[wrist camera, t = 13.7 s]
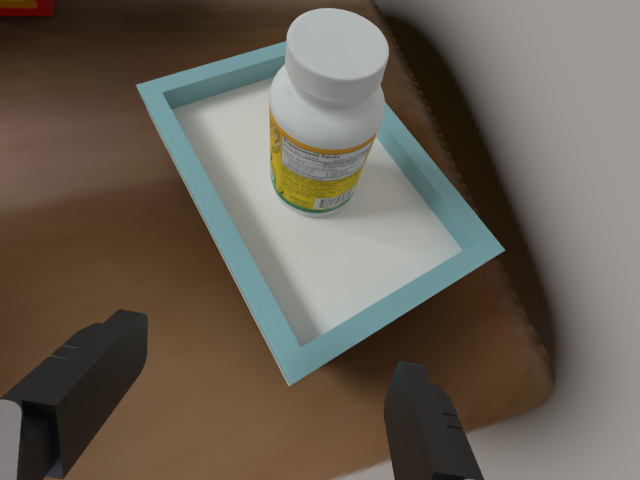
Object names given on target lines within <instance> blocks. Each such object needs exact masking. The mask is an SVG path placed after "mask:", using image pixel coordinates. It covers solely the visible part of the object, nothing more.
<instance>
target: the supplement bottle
mask: <svg viewBox="0 0 640 480" xmlns="http://www.w3.org/2000/svg"><path fill="white" fill-rule="evenodd" d="M388 57H389V47H388V43H387V40H386V38H385V37H384V35H383V34H382V32H381V31H380V30H379V29H378V28H377V27H376V26H375V25H374V24H372V23H371V22H370V21H368V20H367V19H365V18H364V17H361V16H360V15H357V14H355V13H352V12H349V11H345V10H339V9H331V8H323V9H316V10H312V11H309V12H306V13H304V14H302V15H300V16H299V17H298V18H296V19H295V20H294V21H293V23H292V24H291V26H290V28H289V30H288V33H287V41H286V55H285V65H283V67H282V68H281V69H280V70H279V71H278V73H277V74H276V76H275V77H274V79H273V82H272V85H271V88H270V97H269V117H270V173H271V182H272V186H273V189H274V192H275V194H276V196H277V197H278V199H279V200H280V202H281V203H282V204H283V205H284V206H286V207H287V208H289V209H290V210H292V211H294V212H296V213H298V214H302V215H305V216H310V217H319V216H326V215H330V214H333V213H335V212H337V211H339V210H340V209H342V208H343V207H344V206H345V205H346V204H347V203H348V202H349V200H350V199H351V197H352V195H353V193H354V191H355V188H356V185H357V183H358V180H359V178H360V175H361V173H362V170H363V168H364V165H365V163H366V160H367V158H368V155H369V153H370V150H371V148H372V145H373V143H374V140H375V138H376V136H377V133H378V131H379V128H380V126H381V123H382V120H383V117H384V112H385V99H384V94H383V91H382V88H381V86H380V84H381V82H382V78H383V74H384V70H385V67H386V64H387V61H388Z"/></svg>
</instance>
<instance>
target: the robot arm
mask: <svg viewBox="0 0 640 480" xmlns="http://www.w3.org/2000/svg"><path fill="white" fill-rule="evenodd" d="M147 331H148V318H147V315H146V314H144V313H138V312H133V311H127V310H122V309H120V310H118V311H116V312H115V313H114V314H113V315H112V316H111V317H110V318H109V319H108V320H107V321H106V322H104V323H103V324H102V323H94V324H92V325H90V326H88V327H86V328H84V329H82V330H80V331H78V332H76V333H75V334H74V335H73V336H72V337H71V338H70V339H68V340H67V341H66V342H65V343H64V344H63V346H62V347H59V348H58V349H57V350H56V351H55V352H53V353H52V354H51V357H48V358H46V359H45V360H44V361H43V362H42V363H41V364H39V365H38V366H37V367H36V368H35V369H34V370H33V371H31V372H30V373H29V374H28V375H27V376H26V377H24V378H23V379H22V380H21V381H20V382H19V383H18V384H16V385H15V386H14V387H13V388H12V389H11V390H9V391H8V392H7V393H6V394H5V395H4V396H2V397H1V398H0V480H43V478H44V477H45V476H47V477H53V478H59V479H64V477H65V476H66V475H67V473H68V472H69V471H70V469H71V468H72V466H73V465H74V464H75V462H76V461H77V460H78V458H79V457H80V455H81V454H82V453H83V451H84V450H85V449H86V447H87V446H88V445H89V443H90V442H91V440H92V439H93V438H94V436H95V435H96V434H97V432H98V431H99V429H100V428H101V427H102V425H103V424H104V423H105V421H106V420H107V419H108V417H109V416H110V414H111V413H112V412H113V410H114V409H115V408H116V406H117V405H118V403H119V402H120V401H121V399H122V398H123V397H124V395H125V394H126V393H127V391H128V390H129V388H130V387H131V386H132V384H133V383H134V382H135V380H136V379H137V377H138V376H139V375H140V373H141V371H142V369H143V367H144V364H145V361H146V357H147ZM384 420H385V425H386V431H387V437H388V443H389V449H390V454H391V460H392V466H393V472H394V478H395V480H484V478H483V476H482V474H481V471H480V469H479V466H478V464H477V461H476V459H475V457H474V454H473V452H472V449H471V447H470V445H469V442H468V440H467V437H466V435H465V432H464V431H463V430H462V429H463V428H462V425H461V423H460V420H459V418H457V413H456V411H455V408H454V406H453V404H452V401H451V399H450V398H449V397H448V396H447V394H446V393H445V392H444V391H443V390H442V388H441V387H440V386H439V385H434V384H431V382H430V379H429V377H428V374H427V371H426V369H425V367H424V366H423V365H419V364H413V363H408V362H402V361H400V362H398V364H397V366H396V369H395V372H394V375H393V378H392V381H391V383H390V386H389V389H388V392H387V395H386V398H385V404H384Z"/></svg>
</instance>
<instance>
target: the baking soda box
mask: <svg viewBox="0 0 640 480" xmlns="http://www.w3.org/2000/svg"><path fill="white" fill-rule="evenodd" d="M55 1H56V0H0V16H53V11H54V6H55Z"/></svg>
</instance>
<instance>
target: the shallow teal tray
mask: <svg viewBox="0 0 640 480" xmlns="http://www.w3.org/2000/svg"><path fill="white" fill-rule="evenodd" d="M285 55H286V41H285V42H282V43H279V44H275V45H272V46H268V47H265V48H261V49H258V50H254V51H251V52H247V53H244V54H241V55H237V56H234V57H230V58H227V59H223V60H220V61H216V62H213V63H210V64H206V65H203V66H199V67H196V68H192V69H189V70H185V71H182V72H179V73H175V74H172V75H168V76H165V77H161V78H158V79H154V80H151V81H148V82H144V83H141V84H137V85H136V86H137V89H138V91H139V93H140V95H141V97H142V99H143V102H144V104H145V106H146V108H147V110H148V112H149V115H150V117H151V119H152V121H153V123H154V125H155V127H156V129H157V131H158V133H159V135H160V137H161V139H162V141H163V142H164V144H165V146H166V148H167V150H168V152H169V154H170V156H171V158H172V160H173V162H174V164H175V166H176V168H177V170H178V172H179V174H180V176H181V177H182V179H183V181H184V183H185V185H186V187H187V189H188V191H189V193H190V195H191V197H192V199H193V201H194V203H195V205H196V207H197V209H198V211H199V212H200V214H201V216H202V218H203V220H204V222H205V224H206V226H207V228H208V230H209V232H210V234H211V236H212V238H213V240H214V242H215V244H216V246H217V248H218V249H219V251H220V253H221V255H222V257H223V259H224V261H225V263H226V265H227V267H228V269H229V271H230V273H231V275H232V277H233V279H234V281H235V283H236V284H237V286H238V288H239V290H240V292H241V294H242V296H243V298H244V300H245V302H246V304H247V306H248V308H249V310H250V312H251V314H252V316H253V318H254V320H255V321H256V323H257V325H258V327H259V329H260V331H261V333H262V335H263V337H264V339H265V341H266V343H267V345H268V347H269V349H270V351H271V353H272V355H273V356H274V358H275V360H276V362H277V364H278V366H279V368H280V370H281V372H282V374H283V376H284V378H285V380H286V382H287V384H288V386H290V385H292V384H294V383H295V382H297V381H298V380H300V379H302V378H303V377H305V376H306V375H308V374H309V373H311V372H313V371H314V370H316V369H317V368H319V367H321V366H322V365H324V364H325V363H327V362H329V361H330V360H332V359H333V358H335V357H336V356H338V355H340V354H341V353H343V352H344V351H346V350H348V349H349V348H351V347H352V346H354V345H356V344H357V343H359V342H360V341H362V340H363V339H365V338H367V337H368V336H370V335H371V334H373V333H375V332H376V331H378V330H379V329H381V328H383V327H384V326H386V325H387V324H389V323H390V322H392V321H394V320H395V319H397V318H398V317H400V316H402V315H403V314H405V313H406V312H408V311H410V310H411V309H413V308H414V307H416V306H417V305H419V304H421V303H422V302H424V301H425V300H427V299H429V298H430V297H432V296H433V295H435V294H437V293H438V292H440V291H441V290H443V289H444V288H446V287H448V286H449V285H451V284H452V283H454V282H456V281H457V280H459V279H460V278H462V277H464V276H465V275H467V274H468V273H470V272H471V271H473V270H475V269H476V268H478V267H479V266H481V265H483V264H484V263H486V262H487V261H489V260H491V259H492V258H494V257H495V256H497V255H498V254H500V253H502V252H503V251H505V249H504V248H503V247H502V246H501V244H500V243H499V242H498V241H497V240H496V238H495V237H494V236H493V235H492V233H491V232H490V231H489V230H488V228H487V227H486V226H485V225H484V223H483V222H482V221H481V220H480V218H479V217H478V216H477V215H476V214H475V212H474V211H473V210H472V209H471V207H470V206H469V205H468V204H467V202H466V201H465V200H464V199H463V197H462V196H461V195H460V194H459V193H458V191H457V190H456V189H455V188H454V186H453V185H452V184H451V183H450V181H449V180H448V179H447V178H446V176H445V175H444V174H443V173H442V172H441V170H440V169H439V168H438V167H437V165H436V164H435V163H434V162H433V160H432V159H431V158H430V157H429V155H428V154H427V153H426V152H425V151H424V149H423V148H422V147H421V146H420V144H419V143H418V142H417V141H416V139H415V138H414V137H413V136H412V134H411V133H410V132H409V131H408V130H407V128H406V127H405V126H404V125H403V123H402V122H401V121H400V120H399V118H398V117H397V116H396V115H395V113H394V112H393V111H392V110H391V109H390V107H389V106H388V105H387V104H386V102H385V112H384V117H383V120H382V123H381V126H380V128H379V131H378V133H377V136H376V138H375V140H374V143H373V145H372V148H371V150H370V153H369V155H368V158H367V160H366V163H365V165H364V168H363V170H362V173H361V175H360V178H359V180H358V183H357V185H356V188H355V191H354V193H353V195H352V197H351V199H350V200H349V202H348V203H347V204H346V205H345V206H344V207H343V208H342V209H340V210H339V211H337V212H335V213H333V214H330V215H326V216H319V217H310V216H305V215H302V214H298V213H296V212H294V211H292V210H290V209H289V208H287V207H286V206H284V205H283V204H282V203H281V202H280V200H279V199H278V197H277V196H276V194H275V192H274V189H273V186H272V182H271V173H270V117H269V97H270V88H271V85H272V82H273V79H274V77H275V76H276V74H277V73H278V71H279V70H280V69H281V68H282V67H283V65H285Z"/></svg>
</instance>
